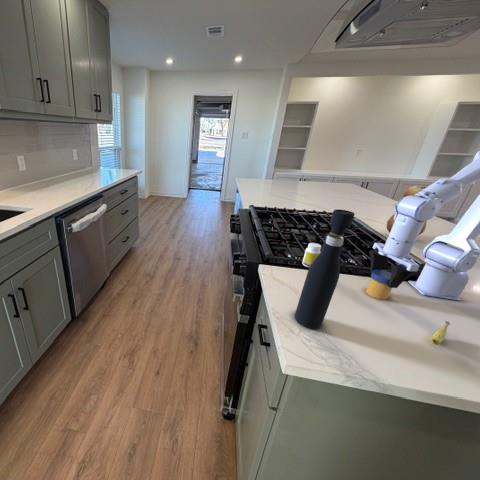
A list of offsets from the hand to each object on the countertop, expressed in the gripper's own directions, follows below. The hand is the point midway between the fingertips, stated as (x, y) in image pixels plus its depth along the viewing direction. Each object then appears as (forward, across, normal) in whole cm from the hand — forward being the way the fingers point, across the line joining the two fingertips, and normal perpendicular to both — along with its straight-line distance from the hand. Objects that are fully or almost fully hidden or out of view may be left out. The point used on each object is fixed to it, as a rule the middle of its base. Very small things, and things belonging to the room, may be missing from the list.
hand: (383, 280), depth 77 cm
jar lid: (-2, 0, 0) cm, 2 cm away
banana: (+6, +19, +2) cm, 20 cm away
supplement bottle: (+6, -17, -13) cm, 22 cm away
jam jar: (+5, 0, 0) cm, 5 cm away
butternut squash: (+6, -53, +45) cm, 70 cm away
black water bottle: (+5, +15, -27) cm, 32 cm away
